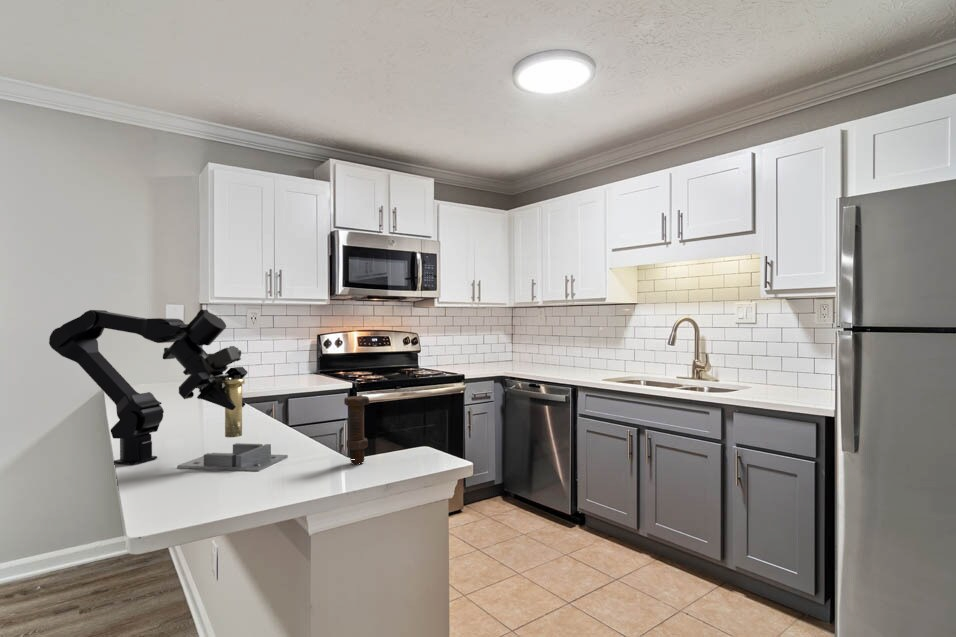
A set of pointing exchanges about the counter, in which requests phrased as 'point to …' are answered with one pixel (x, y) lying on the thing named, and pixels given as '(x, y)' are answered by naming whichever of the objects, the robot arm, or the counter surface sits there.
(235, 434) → the pin
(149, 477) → the counter surface
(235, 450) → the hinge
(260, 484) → the counter surface
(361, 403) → the bolt
